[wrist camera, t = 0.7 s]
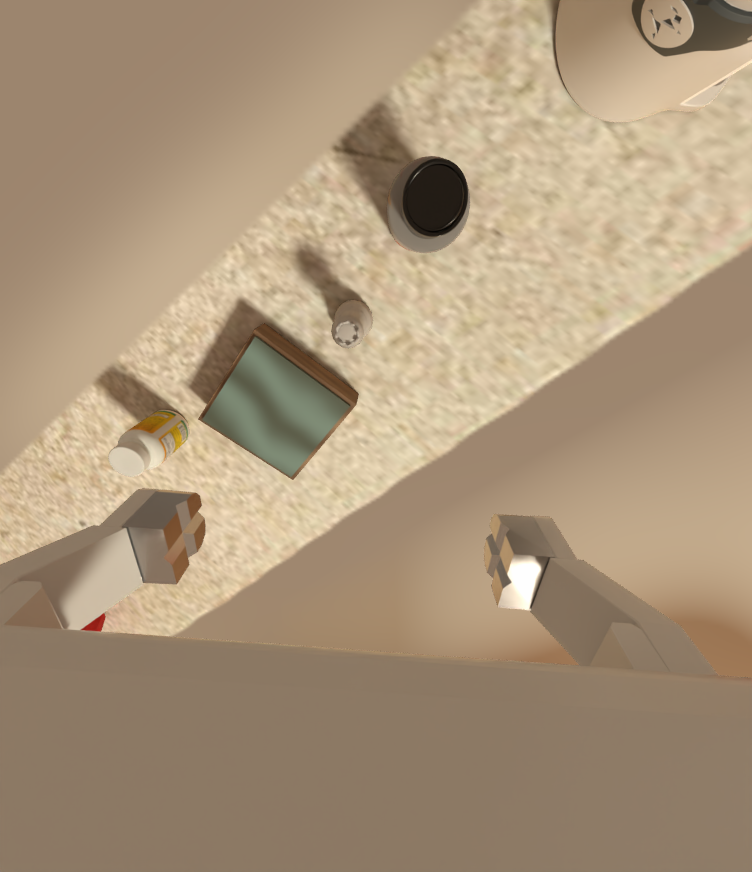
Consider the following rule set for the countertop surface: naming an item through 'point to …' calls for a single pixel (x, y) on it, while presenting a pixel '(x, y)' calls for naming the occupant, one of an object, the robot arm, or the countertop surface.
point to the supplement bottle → (149, 443)
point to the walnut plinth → (278, 402)
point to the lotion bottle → (428, 204)
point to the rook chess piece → (351, 323)
